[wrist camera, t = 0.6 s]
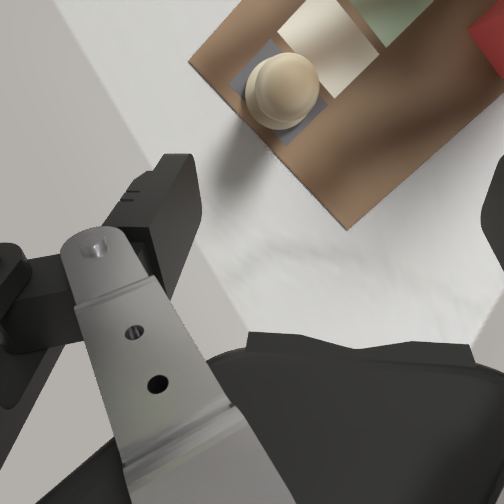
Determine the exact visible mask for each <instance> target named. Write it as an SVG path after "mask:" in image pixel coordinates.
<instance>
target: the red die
mask: <svg viewBox="0 0 504 504" xmlns="http://www.w3.org/2000/svg"><path fill="white" fill-rule="evenodd" d="M467 31H468V33H469V34H470V35H471V37H472V38H473V40H474V41H475V42H476V44H477V45H478V47H479V48H480V49H481V51H482V52H483V53H484V55H485V56H486V58H487V59H488V60H489V62H490V63H491V65H492V66H493V67H494V69H495V70H496V72H497V73H498V74H499V76H500V77H501V79H503V78H504V0H498V1H497V2H496V3H495V4H494V5H493V6H492V7H491V8H490V9H489V10H487V11H486V12H485V13H484V14H483V15H482V16H481V17H480V18H479V19H478V20H477V21H476V22H475V23H474V24H473V25H472V26H471V27H469V28H468V29H467Z"/></svg>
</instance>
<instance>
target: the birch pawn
mask: <svg viewBox="0 0 504 504" xmlns="http://www.w3.org/2000/svg"><path fill="white" fill-rule="evenodd" d="M318 95H319V78H318V74H317V72H316V70H315V68H314V66H313V65H312V64H311V63H310V61H309V60H307V59H306V58H305V57H303V56H301V55H299V54H296V53H281V54H278V55H275V56H273V57H271V58H268V59H266V60H264V61H262V62H261V63H259V64H258V65H257V66H256V67H255V68H254V70H253V71H252V72H251V74H250V76H249V78H248V80H247V84H246V89H245V99H246V104H247V107H248V109H249V112H250V113H251V115H252V116H253V118H254V119H255V120H256V121H257V122H258V123H260V124H261V125H263V126H265V127H267V128H270V129H275V130H283V129H288V128H291V127H293V126H295V125H297V124H298V123H299V122H301V121H302V120H303V119H304V118H305V117H306V115H307V114H308V113H309V111H310V110H311V109H312V108H313V106H314V105H315V103H316V101H317V98H318Z"/></svg>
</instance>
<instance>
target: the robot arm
mask: <svg viewBox="0 0 504 504" xmlns="http://www.w3.org/2000/svg"><path fill="white" fill-rule="evenodd" d="M201 216H202V204H201V197H200V191H199V185H198V179H197V173H196V167H195V161H194V158H193V156H192V154H164V155H163V156H162V158H161V159H160V161H159V162H158V164H157V165H156V167H155V169H154V170H153V171H146V172H145V173H143V174H142V175H140V176H139V177H137V178H136V179H134V180H133V182H132V183H131V184H130V186H129V187H128V189H127V190H126V193H124V194H123V196H122V197H121V199H120V201H119V202H118V203H117V204H116V206H115V207H114V209H113V210H112V212H111V213H110V214H109V216H108V217H107V219H106V220H105V222H104V223H103V224H102V226H100V227H93V228H90V229H86V230H83V231H81V232H79V233H77V234H75V235H73V236H72V237H71V238H69V239H68V240H67V241H66V242H65V243H64V244H63V246H62V248H61V250H60V254H56V255H51V256H45V257H40V258H34V259H28V260H27V258H26V257H25V255H24V253H23V251H22V249H21V248H20V247H19V246H18V245H16V244H13V243H0V469H1V468H2V466H3V464H4V462H5V460H6V458H7V456H8V454H9V452H10V450H11V448H12V446H13V444H14V443H15V441H16V439H17V437H18V435H19V433H20V431H21V429H22V427H23V425H24V423H25V421H26V419H27V417H28V416H29V414H30V412H31V409H32V408H33V406H34V404H35V402H36V400H37V398H38V396H39V394H40V392H41V390H42V389H43V387H44V384H45V383H46V381H47V379H48V377H49V375H50V373H51V371H52V369H53V367H54V365H55V363H56V361H57V360H58V358H59V355H60V354H61V352H62V350H63V348H64V346H65V344H70V343H75V342H80V341H84V342H85V345H86V348H87V352H88V354H89V358H90V361H91V364H92V367H93V370H94V374H95V377H96V380H97V383H98V386H99V389H100V393H101V396H102V399H103V402H104V405H105V408H106V411H107V414H108V418H109V421H110V424H111V427H112V430H113V434H114V437H113V438H112V439H110V440H109V441H108V442H107V443H106V444H105V445H103V446H102V447H101V448H100V449H99V450H98V451H96V452H95V453H94V454H93V455H92V456H91V457H89V458H88V459H87V460H86V461H85V462H83V463H82V464H81V465H80V466H79V467H78V468H77V469H75V470H74V471H73V472H72V473H71V474H69V475H68V476H67V477H66V478H65V479H64V480H62V481H61V482H60V483H59V484H58V485H57V486H55V487H54V488H53V489H52V490H51V491H50V492H48V493H47V494H46V495H45V496H44V497H43V498H41V499H40V500H39V501H38V502H37V503H36V504H504V373H502V372H500V371H498V370H495V369H493V368H490V367H487V366H484V365H481V364H478V363H475V360H474V358H473V355H472V352H471V349H470V346H469V345H467V344H450V343H433V342H417V341H410V342H404V343H397V344H391V345H384V346H378V347H371V348H365V349H352V348H347V347H344V346H340V345H336V344H333V343H329V342H325V341H322V340H318V339H314V338H311V337H307V336H303V335H298V334H281V333H264V332H249V333H248V339H247V345H246V347H245V348H239V349H235V350H231V351H228V352H225V353H222V354H220V355H217V356H215V357H213V358H211V359H209V360H207V361H205V359H204V358H203V356H202V354H201V353H200V351H199V349H198V347H197V346H196V344H195V343H194V341H193V339H192V337H191V336H190V334H189V332H188V331H187V329H186V327H185V326H184V324H183V322H182V321H181V319H180V317H179V315H178V314H177V312H176V310H175V309H174V307H173V306H172V304H171V302H170V300H171V298H172V295H173V292H174V290H175V287H176V285H177V282H178V279H179V277H180V274H181V272H182V269H183V266H184V264H185V261H186V259H187V256H188V253H189V251H190V248H191V246H192V243H193V241H194V238H195V235H196V233H197V230H198V228H199V225H200V222H201ZM481 227H482V230H483V232H484V234H485V236H486V238H487V240H488V242H489V244H490V246H491V248H492V250H493V252H494V254H495V255H496V257H497V259H498V261H499V263H500V265H501V267H502V269H503V271H504V155H503V156H502V157H501V158H500V160H499V162H498V164H497V167H496V170H495V172H494V175H493V178H492V181H491V184H490V187H489V189H488V192H487V195H486V198H485V201H484V204H483V207H482V210H481Z"/></svg>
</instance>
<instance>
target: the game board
mask: <svg viewBox="0 0 504 504" xmlns="http://www.w3.org/2000/svg"><path fill="white" fill-rule="evenodd" d="M497 1H498V0H242V1H241V2H240V3H239V4H238V5H237V7H236V8H235V9H234V10H233V11H232V12H231V13H230V14H229V16H228V17H227V18H226V19H225V20H224V21H223V22H222V23H221V25H220V26H219V27H218V28H217V29H216V30H215V31H214V32H213V34H212V35H211V36H210V37H209V38H208V39H207V40H206V41H205V43H204V44H203V45H202V46H201V47H200V48H199V49H198V51H197V52H196V53H195V54H194V55H193V56H192V57H191V58H190V60H189V62H190V63H191V64H192V65H193V66H194V67H195V68H196V69H197V70H198V71H199V73H200V74H201V75H202V76H203V77H204V78H205V79H206V80H207V81H208V82H209V83H210V84H211V85H212V86H213V87H214V89H215V90H216V91H217V92H218V93H219V94H220V95H221V96H222V97H223V98H224V99H225V100H226V101H227V102H228V103H229V105H230V106H231V107H232V108H233V109H234V110H235V111H236V112H237V113H238V114H239V115H240V116H241V117H242V118H243V119H244V121H245V122H246V123H247V124H248V125H249V126H250V127H251V128H252V129H253V130H254V131H255V132H256V133H257V134H258V135H259V137H260V138H261V139H262V140H263V141H264V142H265V143H266V144H267V145H268V146H269V147H270V148H271V149H272V150H273V151H274V153H275V154H276V155H277V156H278V157H279V158H280V159H281V160H282V161H283V162H284V163H285V164H286V165H287V166H288V167H289V169H290V170H291V171H292V172H293V173H294V174H295V175H296V176H297V177H298V178H299V179H300V180H301V181H302V182H303V183H304V185H305V186H306V187H307V188H308V189H309V190H310V191H311V192H312V193H313V194H314V195H315V196H316V197H317V198H318V199H319V201H320V202H321V203H322V204H323V205H324V206H325V207H326V208H327V209H328V210H329V211H330V212H331V213H332V214H333V215H334V217H335V218H336V219H337V220H338V221H339V222H340V223H341V224H342V225H343V226H344V227H345V228H346V229H347V230H348V229H349V228H351V227H352V226H353V225H354V224H355V223H356V222H357V221H358V220H360V219H361V218H362V217H363V216H364V215H365V214H366V213H368V212H369V211H370V210H371V209H372V208H373V207H374V206H375V205H377V204H378V203H379V202H380V201H381V200H382V199H383V198H384V197H386V196H387V195H388V194H389V193H390V192H391V191H392V190H394V189H395V188H396V187H397V186H398V185H399V184H400V183H401V182H403V181H404V180H405V179H406V178H407V177H408V176H409V175H410V174H412V173H413V172H414V171H415V170H416V169H417V168H418V167H420V166H421V165H422V164H423V163H424V162H425V161H426V160H427V159H429V158H430V157H431V156H432V155H433V154H434V153H435V152H437V151H438V150H439V149H440V148H441V147H442V146H443V145H444V144H446V143H447V142H448V141H449V140H450V139H451V138H452V137H453V136H455V135H456V134H457V133H458V132H459V131H460V130H461V129H463V128H464V127H465V126H466V125H467V124H468V123H469V122H470V121H472V120H473V119H474V118H475V117H476V116H477V115H478V114H479V113H481V112H482V111H483V110H484V109H485V108H486V107H487V106H489V105H490V104H491V103H492V102H493V101H494V100H495V99H496V98H498V97H499V96H500V95H501V94H502V93H503V92H504V78H503V79H501V77H500V76H499V74H498V73H497V72H496V70H495V69H494V67H493V66H492V65H491V63H490V62H489V60H488V59H487V58H486V56H485V55H484V53H483V52H482V51H481V49H480V48H479V47H478V45H477V44H476V42H475V41H474V40H473V38H472V37H471V35H470V34H469V33H468V31H467V29H468V28H469V27H471V26H472V25H473V24H474V23H475V22H476V21H477V20H478V19H479V18H480V17H481V16H482V15H483V14H484V13H485V12H486V11H487V10H489V9H490V8H491V7H492V6H493V5H494V4H495V3H496V2H497ZM281 53H296V54H299V55H301V56H303V57H305V58H306V59H307V60H309V61H310V63H311V64H312V65H313V66H314V68H315V70H316V72H317V74H318V78H319V95H318V98H317V101H316V103H315V105H314V106H313V108H312V109H311V110H310V111H309V113H308V114H307V115H306V117H305V118H304V119H303V120H302V121H301V122H299V123H298V124H297V125H295V126H293V127H291V128H288V129H283V130H275V129H270V128H267V127H265V126H263V125H261V124H260V123H258V122H257V121H256V120H255V119H254V118H253V116H252V115H251V113H250V112H249V109H248V107H247V104H246V99H245V89H246V84H247V80H248V78H249V76H250V74H251V72H252V71H253V70H254V68H255V67H256V66H257V65H258V64H259V63H261V62H262V61H264V60H266V59H268V58H271V57H273V56H275V55H278V54H281Z"/></svg>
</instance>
